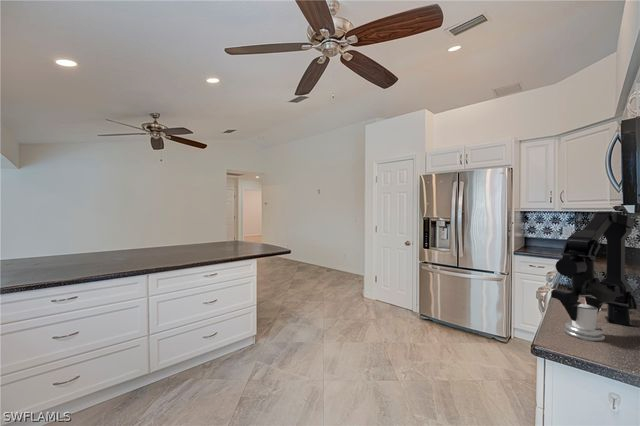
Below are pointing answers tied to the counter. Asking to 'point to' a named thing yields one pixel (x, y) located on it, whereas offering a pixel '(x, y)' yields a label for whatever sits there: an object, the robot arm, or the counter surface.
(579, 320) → the white cup
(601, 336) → the duct stub
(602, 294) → the robot arm
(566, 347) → the counter surface
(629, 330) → the counter surface
